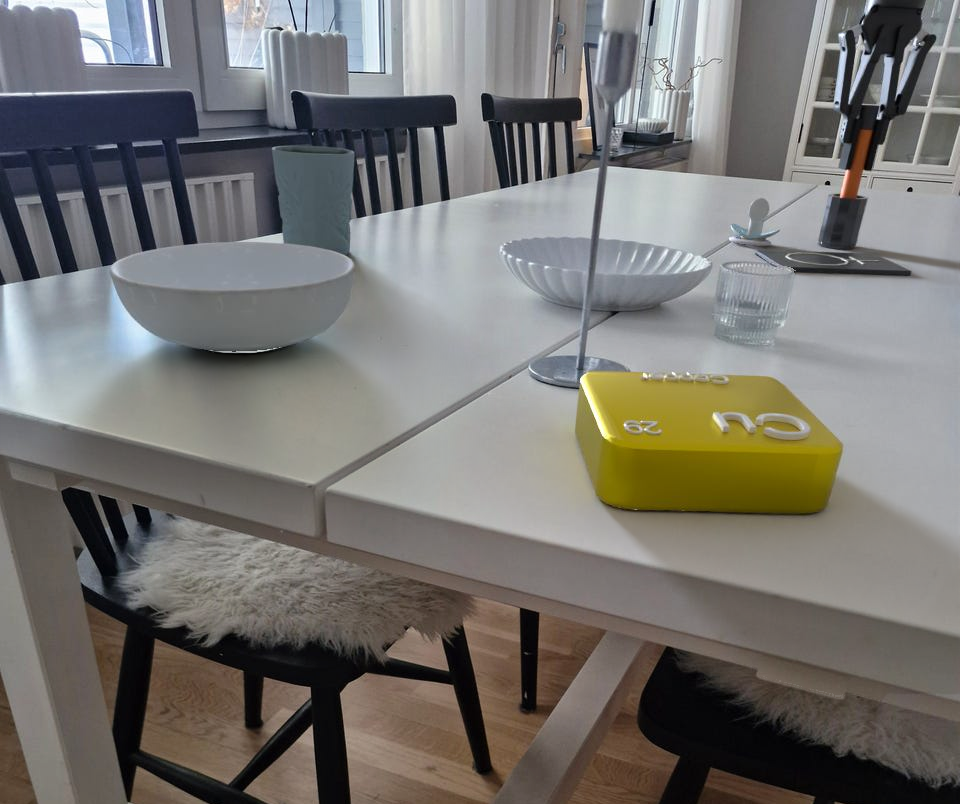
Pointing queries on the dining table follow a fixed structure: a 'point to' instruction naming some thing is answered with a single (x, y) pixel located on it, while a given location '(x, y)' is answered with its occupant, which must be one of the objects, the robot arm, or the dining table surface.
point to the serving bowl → (235, 293)
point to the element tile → (703, 443)
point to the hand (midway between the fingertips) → (854, 169)
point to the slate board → (833, 262)
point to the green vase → (315, 195)
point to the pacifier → (754, 226)
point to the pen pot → (842, 221)
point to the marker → (860, 151)
